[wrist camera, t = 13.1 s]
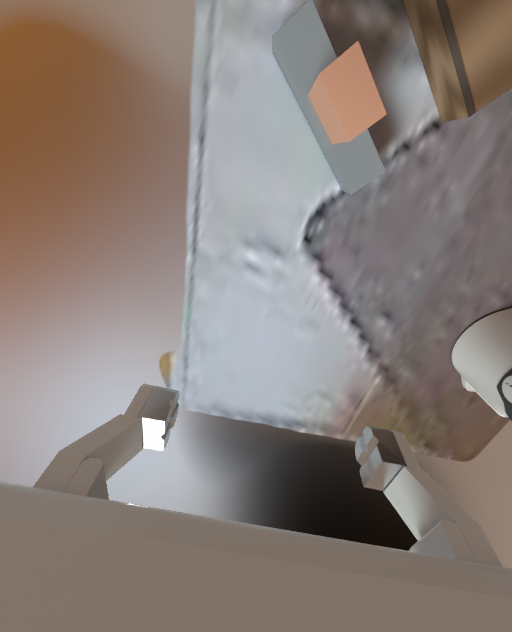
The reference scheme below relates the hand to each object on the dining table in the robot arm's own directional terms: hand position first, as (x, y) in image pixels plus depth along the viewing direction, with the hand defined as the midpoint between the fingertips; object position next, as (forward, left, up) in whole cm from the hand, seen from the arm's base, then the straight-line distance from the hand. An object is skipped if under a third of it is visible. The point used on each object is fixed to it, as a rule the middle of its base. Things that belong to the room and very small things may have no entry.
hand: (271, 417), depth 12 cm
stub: (-3, -14, -31) cm, 34 cm away
